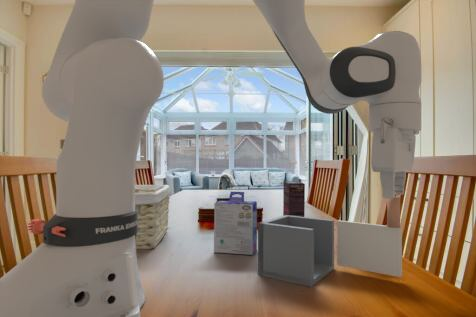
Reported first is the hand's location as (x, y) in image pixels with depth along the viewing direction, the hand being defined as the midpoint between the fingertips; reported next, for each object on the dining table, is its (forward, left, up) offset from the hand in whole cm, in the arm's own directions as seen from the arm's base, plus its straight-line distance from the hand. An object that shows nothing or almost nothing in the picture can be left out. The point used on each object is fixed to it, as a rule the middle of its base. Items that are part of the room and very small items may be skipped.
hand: (393, 196), depth 61 cm
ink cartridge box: (-1, +35, -16) cm, 39 cm away
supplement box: (+23, +31, -16) cm, 42 cm away
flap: (0, +5, -15) cm, 15 cm away
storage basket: (-7, +65, -16) cm, 67 cm away
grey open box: (-6, +17, -16) cm, 24 cm away
